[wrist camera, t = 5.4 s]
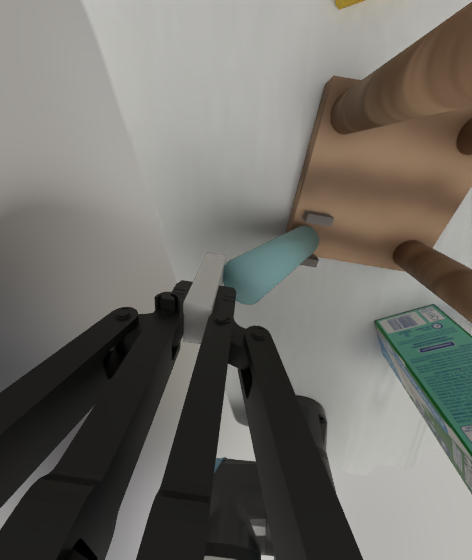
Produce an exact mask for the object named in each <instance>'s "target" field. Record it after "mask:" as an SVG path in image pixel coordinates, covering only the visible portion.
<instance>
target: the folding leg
mask: <svg viewBox="0 0 472 560" xmlns="http://www.w3.org/2000/svg"><path fill="white" fill-rule="evenodd" d="M318 245H319V236H318V234H317V232H316V231H315V230H314V229H313V228H311V227H308V226H300V227H298V228H296V229H294V230H292V231H290V232H287V233H285V234H283V235H281V236H279V237H277V238H275V239H273V240H271V241H269V242H267V243H265V244H263V245H261V246H259V247H257V248H255V249H253V250H251V251H249V252H247V253H245V254H243V255H240V256H238V257H236V258H234V259H232V260H230V261H229V262H228V263H227V264H226V265H225V267H224V272H223V283H224V286H226V287H233V288H234V289H235V291H236V301H238V302H240V303H242V304H247V305H250V304H254V303H256V302H258V301H259V300H260V299H261V298H262V297H264V296H265V295H266V294H267V293H268V292H269V291H270V290H271V289H273V288H274V287H275V286H276V285H277V284H278V283H279V282H281V281H282V280H283V279H284V278H285V277H286V276H287V275H289V274H290V273H291V272H292V271H293V270H294V269H295V268H296V267H298V266H299V265H300V264H301V263H302V262H303V261H304V260H306V259H307V258H308V257H309V256H310V255H311V254H312V253H314V252H315V251H316V249H317V248H318Z"/></svg>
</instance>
